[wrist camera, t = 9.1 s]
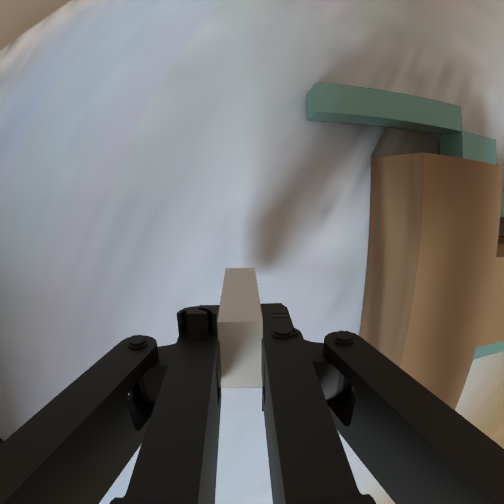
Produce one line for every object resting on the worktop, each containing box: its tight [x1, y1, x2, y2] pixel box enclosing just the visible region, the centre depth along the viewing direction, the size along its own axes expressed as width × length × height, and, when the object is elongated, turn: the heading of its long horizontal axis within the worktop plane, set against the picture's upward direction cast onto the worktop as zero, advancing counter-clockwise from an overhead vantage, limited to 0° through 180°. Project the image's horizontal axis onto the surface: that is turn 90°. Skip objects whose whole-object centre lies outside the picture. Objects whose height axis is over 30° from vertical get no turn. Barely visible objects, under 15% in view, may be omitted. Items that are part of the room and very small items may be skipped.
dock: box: [306, 83, 504, 435], centre depth 18 cm, size 22×21×2 cm
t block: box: [359, 152, 504, 410], centre depth 16 cm, size 15×14×6 cm
